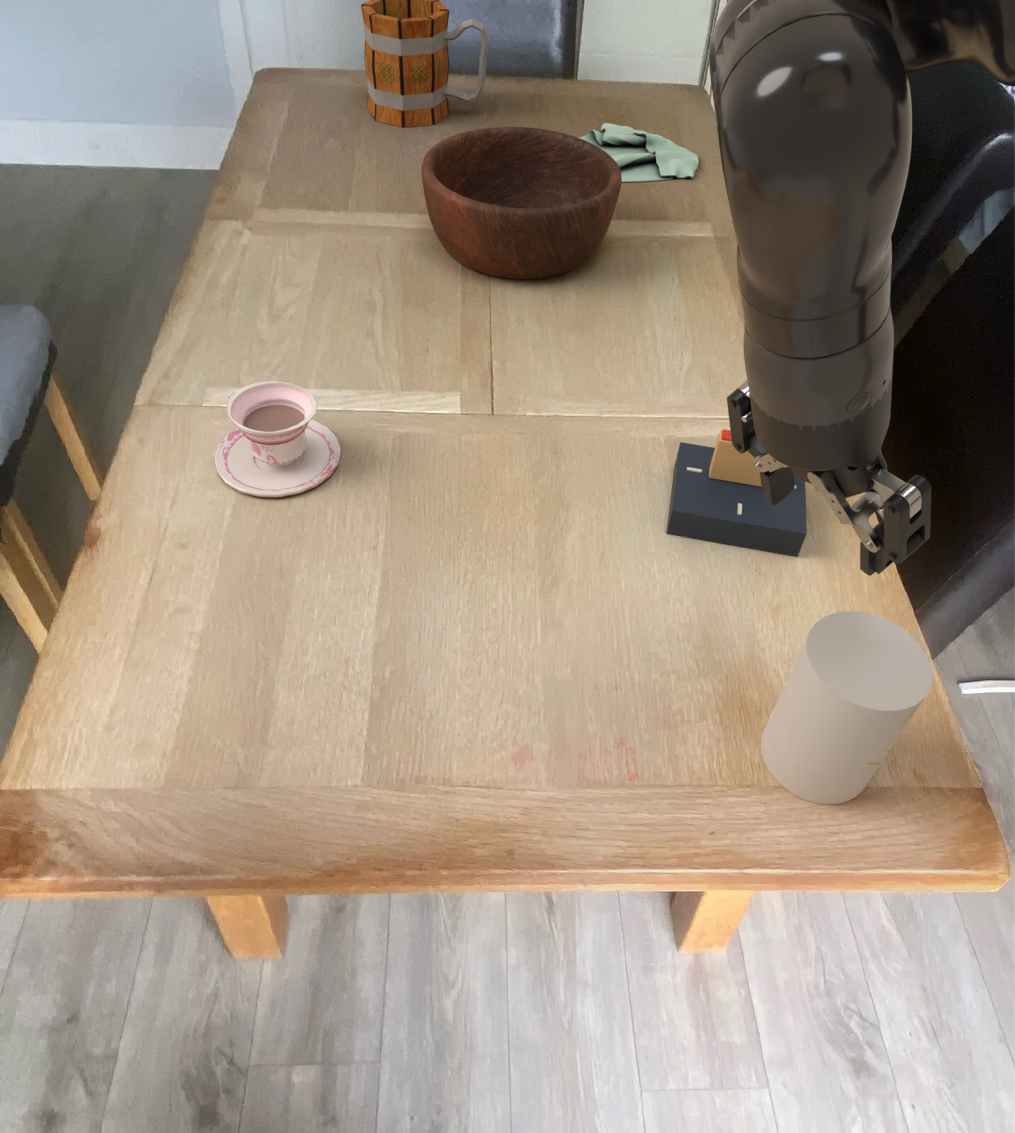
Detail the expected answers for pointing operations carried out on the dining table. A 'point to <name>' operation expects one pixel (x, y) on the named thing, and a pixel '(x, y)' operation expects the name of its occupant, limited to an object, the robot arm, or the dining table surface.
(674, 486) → the console
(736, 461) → the tan rectangular block
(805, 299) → the robot arm
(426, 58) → the mug
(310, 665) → the dining table surface
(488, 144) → the wooden bowl
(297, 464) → the teacup
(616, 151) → the cloth
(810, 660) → the beige solid cylinder
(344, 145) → the dining table surface
